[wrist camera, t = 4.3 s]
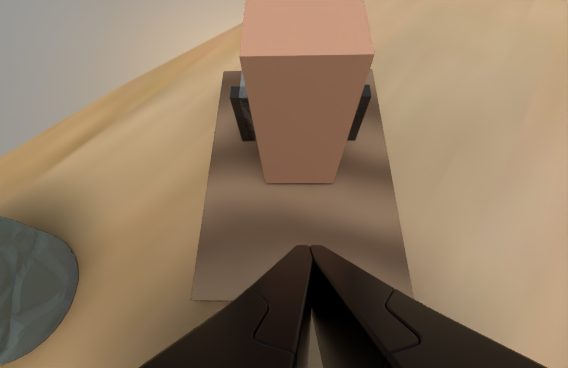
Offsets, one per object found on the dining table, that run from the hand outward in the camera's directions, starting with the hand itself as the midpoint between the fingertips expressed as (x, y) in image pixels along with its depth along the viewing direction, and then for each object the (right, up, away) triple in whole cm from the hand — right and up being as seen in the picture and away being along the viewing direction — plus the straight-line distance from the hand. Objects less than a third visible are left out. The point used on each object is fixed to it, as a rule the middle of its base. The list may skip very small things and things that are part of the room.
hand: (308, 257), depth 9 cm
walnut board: (0, +4, +14) cm, 14 cm away
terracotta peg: (0, +5, +13) cm, 14 cm away
